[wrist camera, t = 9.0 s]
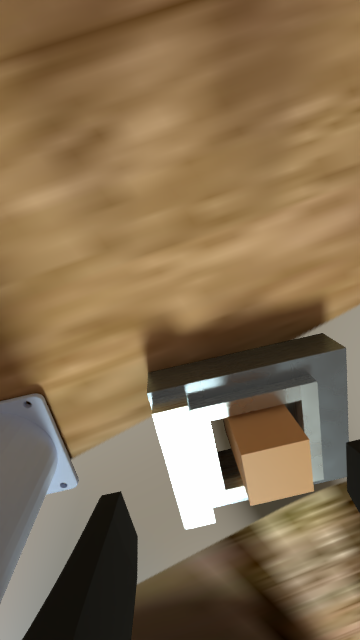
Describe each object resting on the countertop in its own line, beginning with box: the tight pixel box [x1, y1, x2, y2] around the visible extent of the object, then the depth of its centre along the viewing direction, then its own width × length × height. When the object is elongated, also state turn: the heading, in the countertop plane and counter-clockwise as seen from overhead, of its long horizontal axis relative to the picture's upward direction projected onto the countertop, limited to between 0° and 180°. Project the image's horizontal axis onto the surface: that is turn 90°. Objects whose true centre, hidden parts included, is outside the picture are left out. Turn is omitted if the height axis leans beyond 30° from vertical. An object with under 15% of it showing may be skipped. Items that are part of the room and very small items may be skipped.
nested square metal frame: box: [147, 333, 349, 530], centre depth 19 cm, size 12×10×4 cm
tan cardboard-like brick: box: [223, 404, 314, 506], centre depth 18 cm, size 4×4×6 cm
